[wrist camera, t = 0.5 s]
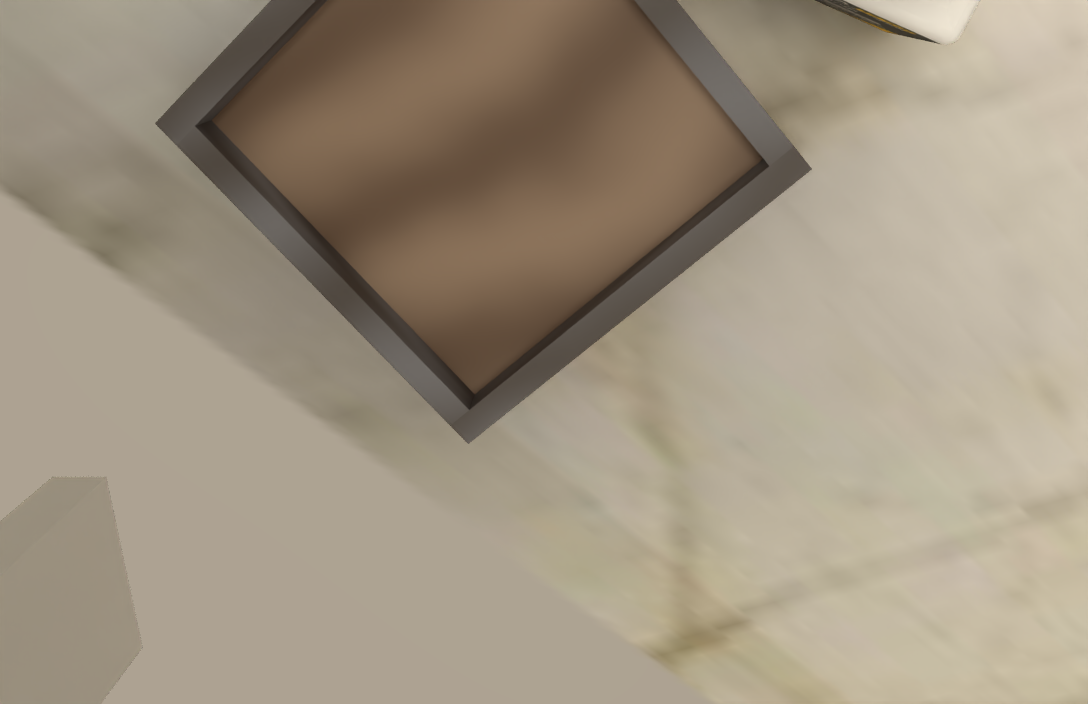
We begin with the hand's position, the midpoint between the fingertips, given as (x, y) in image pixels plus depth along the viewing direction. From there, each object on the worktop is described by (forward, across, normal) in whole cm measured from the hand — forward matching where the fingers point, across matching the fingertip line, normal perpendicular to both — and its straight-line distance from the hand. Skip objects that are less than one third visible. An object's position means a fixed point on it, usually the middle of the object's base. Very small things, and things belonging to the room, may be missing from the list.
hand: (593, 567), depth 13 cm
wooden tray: (+25, -5, +2) cm, 26 cm away
